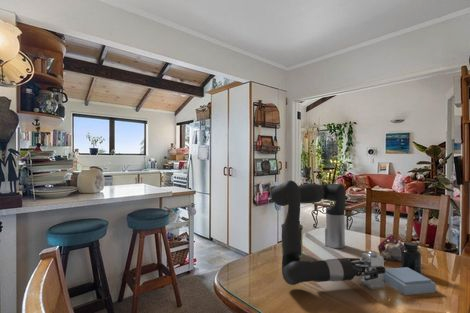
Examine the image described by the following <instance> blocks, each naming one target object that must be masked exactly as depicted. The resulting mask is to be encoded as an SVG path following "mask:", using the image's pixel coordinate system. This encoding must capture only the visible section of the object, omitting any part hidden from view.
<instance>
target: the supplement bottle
mask: <svg viewBox="0 0 470 313" xmlns="http://www.w3.org/2000/svg"><path fill="white" fill-rule="evenodd" d="M403 245H404V248H403V249H402V250H401V261H400V263H401V268H404V267H408V268H410V269H412V270H414V271H415V272H417V273H419V274H421V275H423V273H422V272H423V270H422V269H423V267H422V264H423V263H422V253H421V251H420V250H419V245H418V243H416V242H412V241H404V242H403Z"/></svg>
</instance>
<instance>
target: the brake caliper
mask: <svg viewBox="0 0 470 313" xmlns="http://www.w3.org/2000/svg"><path fill="white" fill-rule="evenodd" d="M385 245H386V247H385ZM403 248H404V243H402V241H401V240H398V239H397V238H396V237H395V236H394V235H393V234H390V235H388V236H387V237H386V238H385V239H383V240H382V241H381V242H380V243H379V244H378V246H377V249H378V252H379V255H380V254H381V255H380V256H382V257H384V262H385V263H387V261H399V262H401V250H402V249H403Z"/></svg>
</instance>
